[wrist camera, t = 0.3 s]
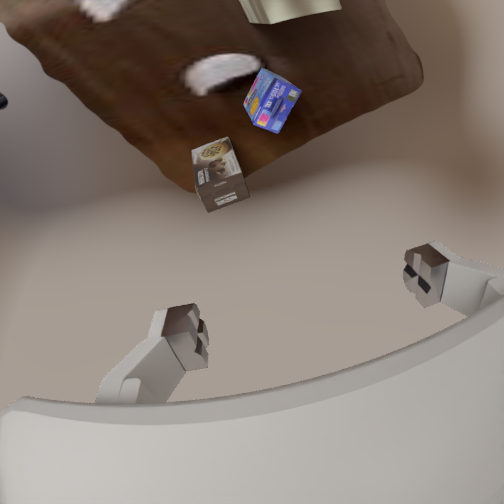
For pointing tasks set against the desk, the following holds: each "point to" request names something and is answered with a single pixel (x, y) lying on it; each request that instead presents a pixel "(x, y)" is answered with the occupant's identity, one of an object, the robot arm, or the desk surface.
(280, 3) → the stepped stand
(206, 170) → the coffee box
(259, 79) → the ink cartridge box
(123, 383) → the robot arm
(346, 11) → the desk surface
